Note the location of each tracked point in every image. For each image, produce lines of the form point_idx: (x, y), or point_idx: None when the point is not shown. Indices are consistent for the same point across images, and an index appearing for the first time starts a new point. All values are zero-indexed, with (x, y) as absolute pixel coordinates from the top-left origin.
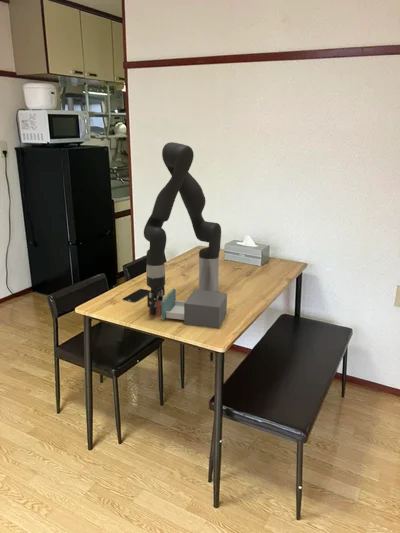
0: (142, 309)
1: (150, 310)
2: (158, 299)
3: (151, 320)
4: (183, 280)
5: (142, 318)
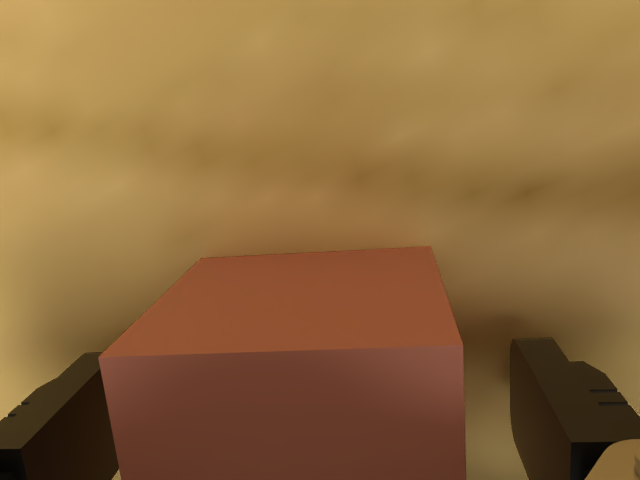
0: (410, 6)
1: (42, 398)
2: (566, 465)
3: (40, 374)
4: None
5: (37, 202)
